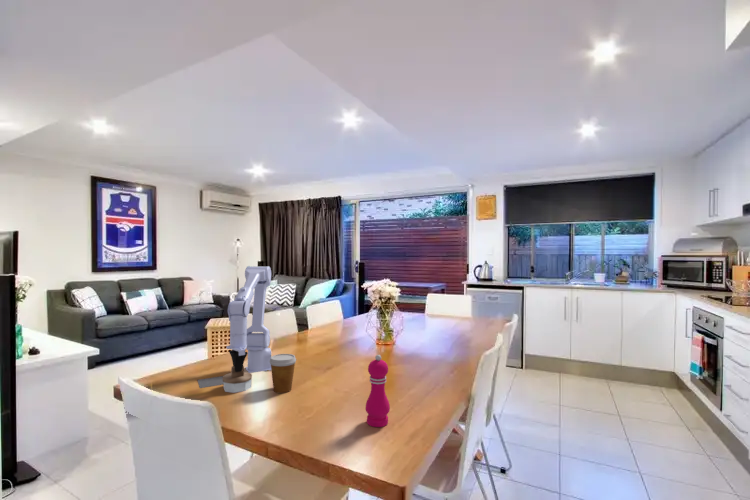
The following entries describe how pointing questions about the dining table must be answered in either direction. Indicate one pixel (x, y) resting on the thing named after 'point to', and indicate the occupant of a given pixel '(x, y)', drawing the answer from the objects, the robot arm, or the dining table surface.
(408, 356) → the dining table surface
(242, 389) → the bowl
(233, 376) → the lid
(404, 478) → the dining table surface
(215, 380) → the mat
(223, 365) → the dining table surface
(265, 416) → the dining table surface
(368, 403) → the pepper mill
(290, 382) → the disposable coffee cup
